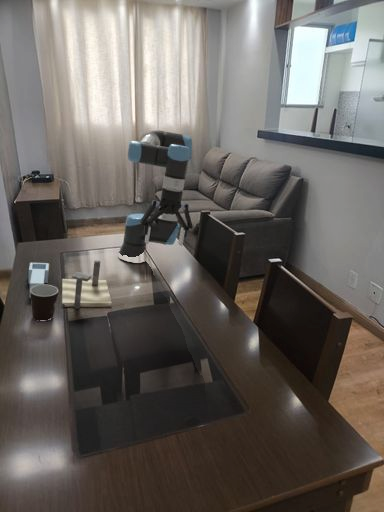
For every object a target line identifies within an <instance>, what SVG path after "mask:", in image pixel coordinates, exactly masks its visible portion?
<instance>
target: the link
mask: <svg viewBox="0 0 384 512" xmlns="http://www.w3.org/2000/svg"><path fill="white" fill-rule="evenodd" d="M49 269H50V263H48V262H29V268H28V280H27V281H28V284H29V290H30V289H31V288H32V287H34V286H36V285H43V284H44V283H49ZM28 296H29V297H28V298H29V299H31V295H30V294H29V295H28Z"/></svg>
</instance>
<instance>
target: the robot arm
mask: <svg viewBox="0 0 384 512" xmlns="http://www.w3.org/2000/svg"><path fill="white" fill-rule="evenodd" d="M192 155H193V140H192V138H191V136H189V135H185V134H181V133H175V132H169V131H164V130H150V131H147V132H145V133H143V134H142V135H141V136H140V138H139V141H138V140H137V141H136V140H131V141H130V142H129V145H128V150H127V159H128V161H130V162H134V163H136V164H144V165H149V166H156V167H159V168H160V167H161V168H165V169H164V170H165V171H164V176H163V183H162V189H161V193H160V194H161V195H160V200H159V201H158V200H156V199H152V200H151V203H150V206H149V207H148V208H147V210H146V211H145V212H144V213H132V214H128V215H127V217H126V221H125V223H124V226H125V227H124V234H123V242H122V244H121V247H120V249H119V250H120V251H118V253H120V254H121V255H122V256H123V255H127V256H128V257H136V256H139V255H140V254H142V253H143V252H144V250H145V249H147V245H149V243H154V244H160V245H161V244H162V245H163V246H164V245H165V246H166V245H167V246H172V245H175V242H176V239H177V238H178V245H179V246H180V247H182V246H183V244H184V238H187V233H188V231H189V230H190V229H193V227H194V226H193V223H192V219H191V216H190V215H191V214H190V211H189V207H190V206H189V204H188V203H186V202H184V203H182V200H183V193H184V192H183V191H184V188H185V187H184V186H185V181H186V174H187V170H188V164H189V163H191V161H192ZM158 206H159V208H158ZM156 208H158V209H157V210H156V211H155V212H154V210H155V209H156ZM181 209H182V210H183V214H184V217H185V220H186V222H185V220H184V218H183V217H182V215H181V213H180V211H179V210H181ZM153 212H154V213H153ZM178 221H179V222H178ZM180 224H181V226H182V227H180ZM179 229H180V231H179ZM178 233H179V234H178ZM178 235H179V237H178Z"/></svg>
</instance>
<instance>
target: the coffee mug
mask: <svg viewBox="0 0 384 512" xmlns="http://www.w3.org/2000/svg"><path fill="white" fill-rule="evenodd" d="M29 295H31V298H30V302H31V303H30V304H31V315H32V319H33V318H34V319H35V320H34V319H33V320H34V321H36V320H39V321H40V320H48V319H50V318H52V317H53V318H54V315H55V314H54V313H55V310H56V305H57V300H58V295H59V289H58V287H56V286H54V285H51V284H43V285H36V286H34V287H32V288H31V289H30V288H29ZM53 318H52V319H53ZM39 321H38V322H39Z"/></svg>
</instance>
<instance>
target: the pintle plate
mask: <svg viewBox="0 0 384 512" xmlns="http://www.w3.org/2000/svg"><path fill="white" fill-rule="evenodd" d="M100 268H101V260H98V259H95V260H94V261H93V271H92V274H89V273H83V272H80V271H76V272H75V273H74V274H73V275H72V276H71V278H62V281H61V285H62V286H61V287H62V288H61V305H62V304H64V305H65V306H64V307H73V308H74V309H75V310H78V309H80V308H81V307H87V308H88V307H89V308H90V307H93V308H94V307H98V308H99V307H102V308H103V307H104V308H105V307H106V308H108V307H109V308H110V307H112V304H113V303H112V299H111V295H110V292H109V285H108V283H107V280H106V279H105V280H104V279H100V270H101V269H100Z"/></svg>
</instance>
